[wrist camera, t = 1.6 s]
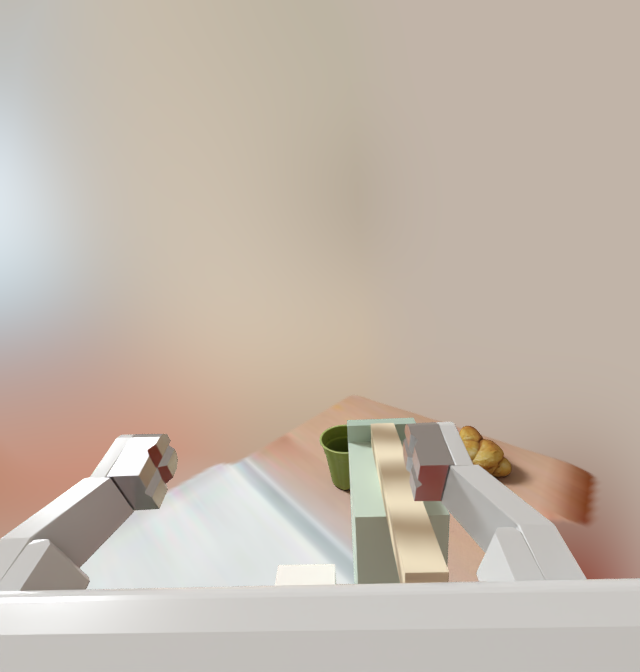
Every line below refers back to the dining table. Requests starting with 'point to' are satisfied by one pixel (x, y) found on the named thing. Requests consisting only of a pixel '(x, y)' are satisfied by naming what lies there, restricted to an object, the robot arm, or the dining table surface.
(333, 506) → the dining table surface
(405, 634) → the robot arm
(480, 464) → the bread roll
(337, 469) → the plant pot
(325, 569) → the block
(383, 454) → the rail
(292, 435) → the dining table surface
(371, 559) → the pale green block
